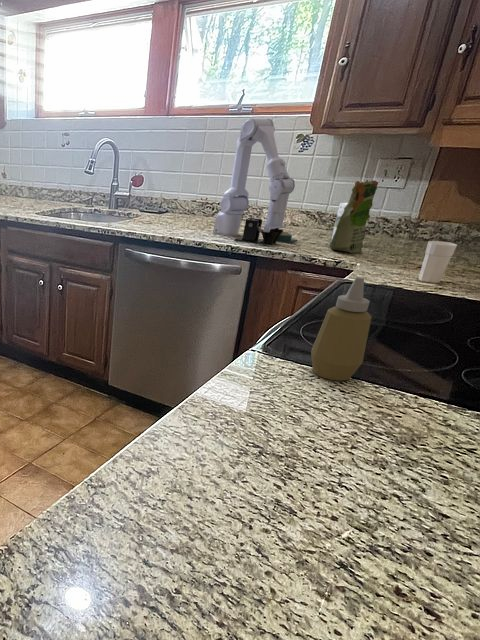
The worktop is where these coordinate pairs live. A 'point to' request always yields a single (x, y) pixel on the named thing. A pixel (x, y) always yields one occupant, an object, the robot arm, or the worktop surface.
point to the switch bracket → (251, 231)
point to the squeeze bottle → (343, 336)
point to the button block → (286, 239)
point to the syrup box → (338, 216)
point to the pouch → (354, 218)
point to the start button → (284, 232)
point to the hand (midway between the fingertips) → (268, 249)
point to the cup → (436, 260)
